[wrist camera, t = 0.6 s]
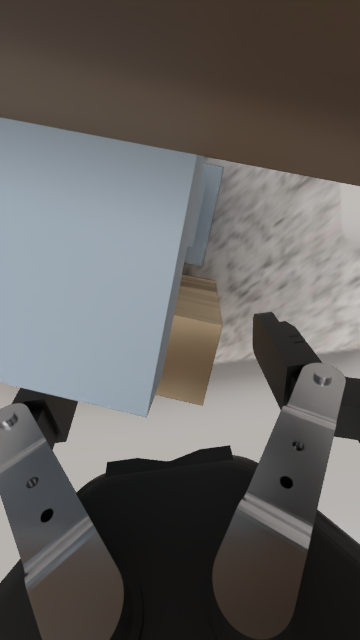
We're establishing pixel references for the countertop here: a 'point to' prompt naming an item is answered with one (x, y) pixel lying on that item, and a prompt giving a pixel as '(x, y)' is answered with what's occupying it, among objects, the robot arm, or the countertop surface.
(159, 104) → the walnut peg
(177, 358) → the oak post
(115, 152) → the blue grey stand
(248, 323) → the countertop surface
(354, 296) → the countertop surface
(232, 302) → the countertop surface
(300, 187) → the countertop surface
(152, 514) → the robot arm
